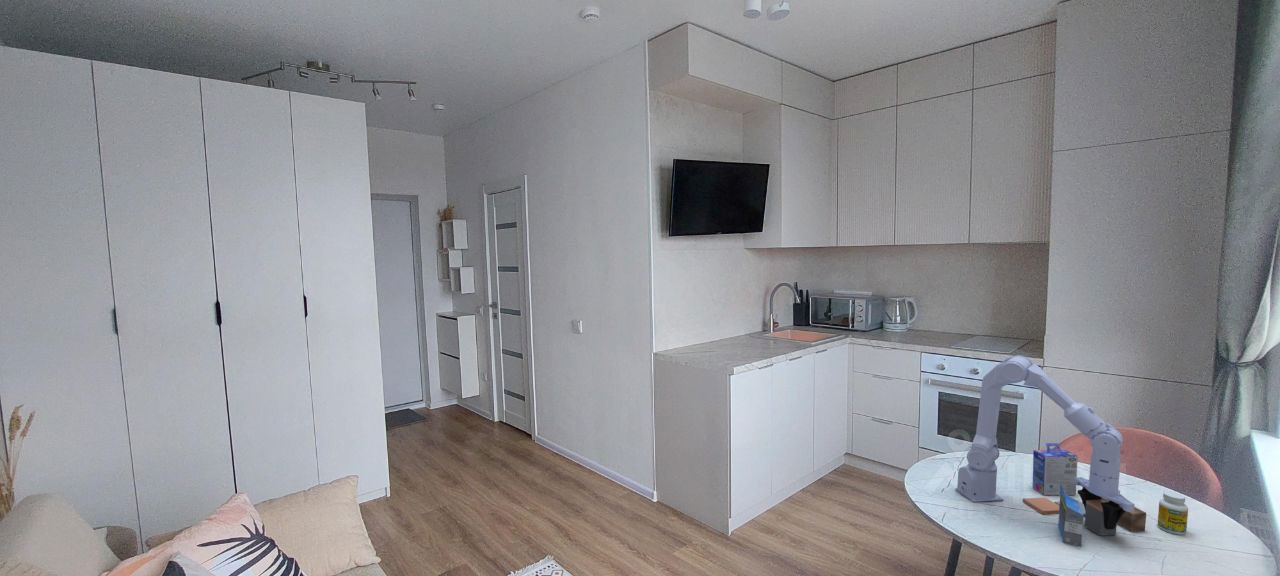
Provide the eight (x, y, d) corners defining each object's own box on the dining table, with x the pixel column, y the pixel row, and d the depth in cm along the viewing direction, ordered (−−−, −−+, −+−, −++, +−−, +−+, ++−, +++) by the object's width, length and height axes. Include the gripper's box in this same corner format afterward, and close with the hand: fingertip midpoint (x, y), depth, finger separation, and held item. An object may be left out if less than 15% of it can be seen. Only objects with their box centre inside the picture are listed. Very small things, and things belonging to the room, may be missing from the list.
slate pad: (1076, 517, 143) (1076, 514, 143) (1054, 504, 150) (1054, 501, 150) (1099, 516, 143) (1100, 513, 143) (1077, 503, 150) (1077, 500, 150)
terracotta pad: (1042, 514, 145) (1042, 511, 145) (1022, 501, 152) (1022, 498, 152) (1066, 513, 145) (1066, 509, 145) (1045, 500, 152) (1045, 497, 152)
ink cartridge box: (1062, 486, 160) (1065, 441, 159) (1077, 495, 155) (1080, 449, 153) (1030, 487, 160) (1032, 441, 159) (1043, 495, 155) (1046, 449, 153)
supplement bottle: (1177, 525, 138) (1180, 491, 137) (1191, 536, 133) (1195, 501, 132) (1152, 522, 140) (1155, 488, 139) (1165, 533, 135) (1168, 498, 134)
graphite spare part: (1100, 535, 134) (1102, 509, 133) (1084, 525, 138) (1086, 500, 138) (1115, 534, 134) (1118, 508, 134) (1099, 525, 139) (1101, 499, 138)
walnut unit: (1130, 531, 136) (1132, 513, 135) (1081, 504, 150) (1083, 487, 149) (1146, 530, 136) (1147, 512, 136) (1096, 503, 150) (1097, 487, 150)
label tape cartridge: (1082, 547, 130) (1085, 500, 128) (1062, 542, 132) (1065, 496, 131) (1075, 529, 137) (1078, 485, 136) (1057, 525, 139) (1059, 481, 138)
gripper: (1147, 486, 128) (1143, 538, 129) (1092, 461, 142) (1089, 508, 144) (1120, 487, 127) (1116, 539, 129) (1068, 462, 142) (1065, 509, 143)
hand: (1100, 523), depth 136 cm, fingers closed on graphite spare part, 4 cm apart
